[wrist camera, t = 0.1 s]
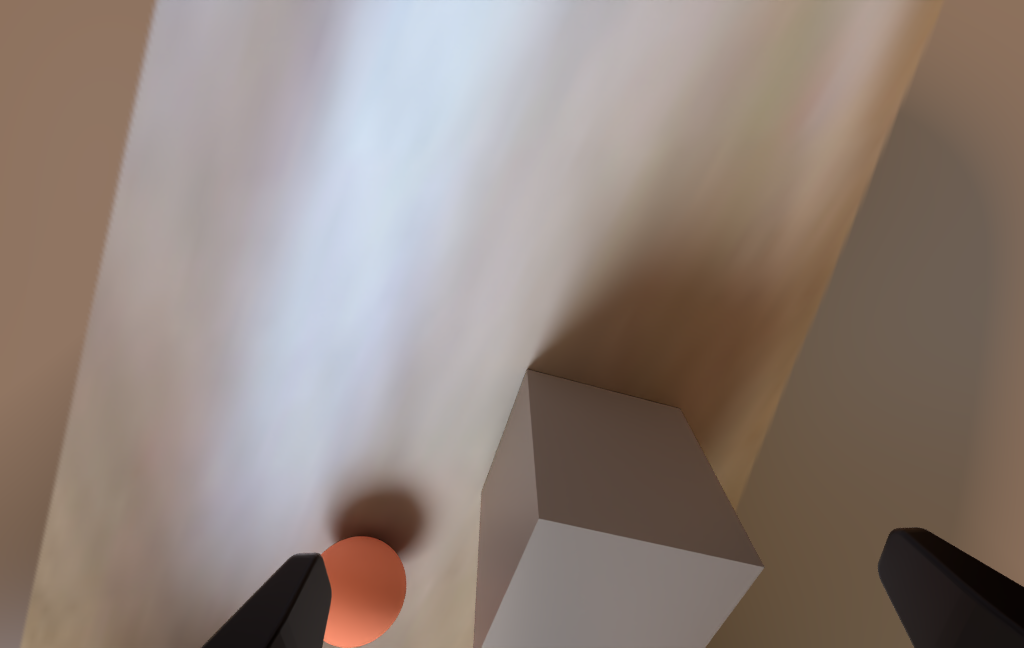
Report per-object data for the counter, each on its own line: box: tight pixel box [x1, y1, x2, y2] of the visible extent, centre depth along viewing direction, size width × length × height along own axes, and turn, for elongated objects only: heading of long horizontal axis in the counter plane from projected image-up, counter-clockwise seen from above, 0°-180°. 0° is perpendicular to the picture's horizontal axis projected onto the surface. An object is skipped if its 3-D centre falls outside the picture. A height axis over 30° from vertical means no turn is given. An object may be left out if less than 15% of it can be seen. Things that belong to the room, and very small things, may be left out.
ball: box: [321, 536, 406, 648], centre depth 26 cm, size 5×5×5 cm
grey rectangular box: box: [473, 369, 764, 648], centre depth 22 cm, size 8×8×9 cm
